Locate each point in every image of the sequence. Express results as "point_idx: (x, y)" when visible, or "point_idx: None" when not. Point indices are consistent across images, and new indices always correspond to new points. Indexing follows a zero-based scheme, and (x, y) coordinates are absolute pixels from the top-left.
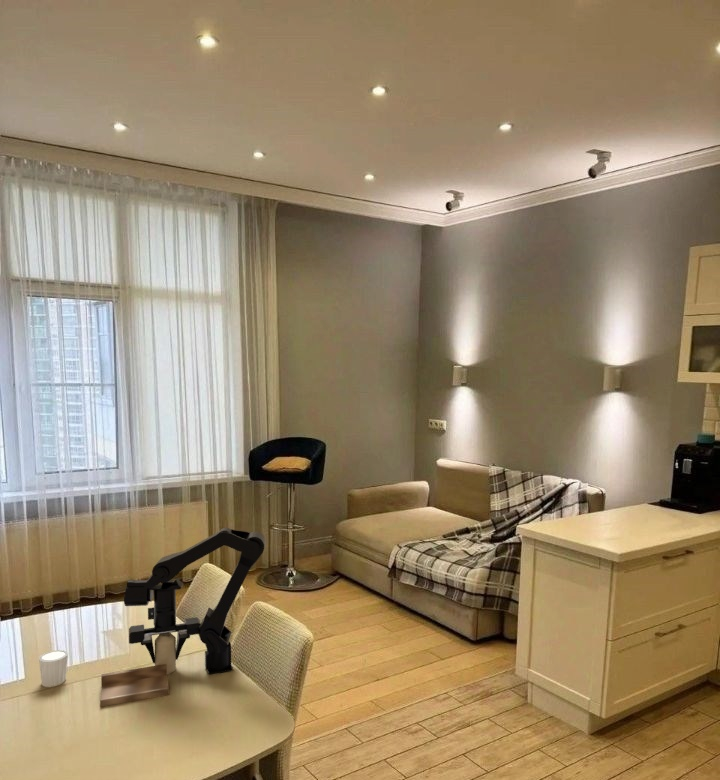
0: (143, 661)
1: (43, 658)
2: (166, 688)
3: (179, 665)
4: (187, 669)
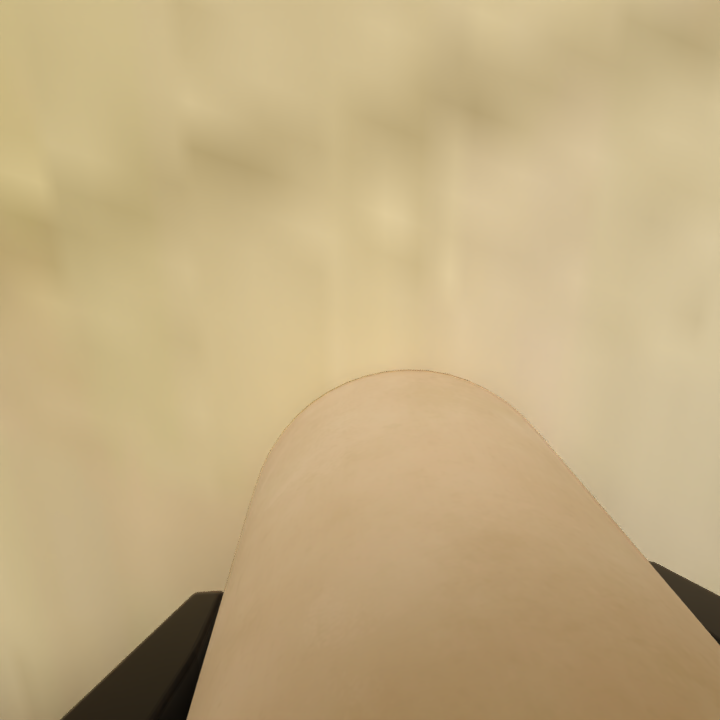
0: (11, 56)
1: None
2: None
3: (615, 416)
4: (697, 564)
